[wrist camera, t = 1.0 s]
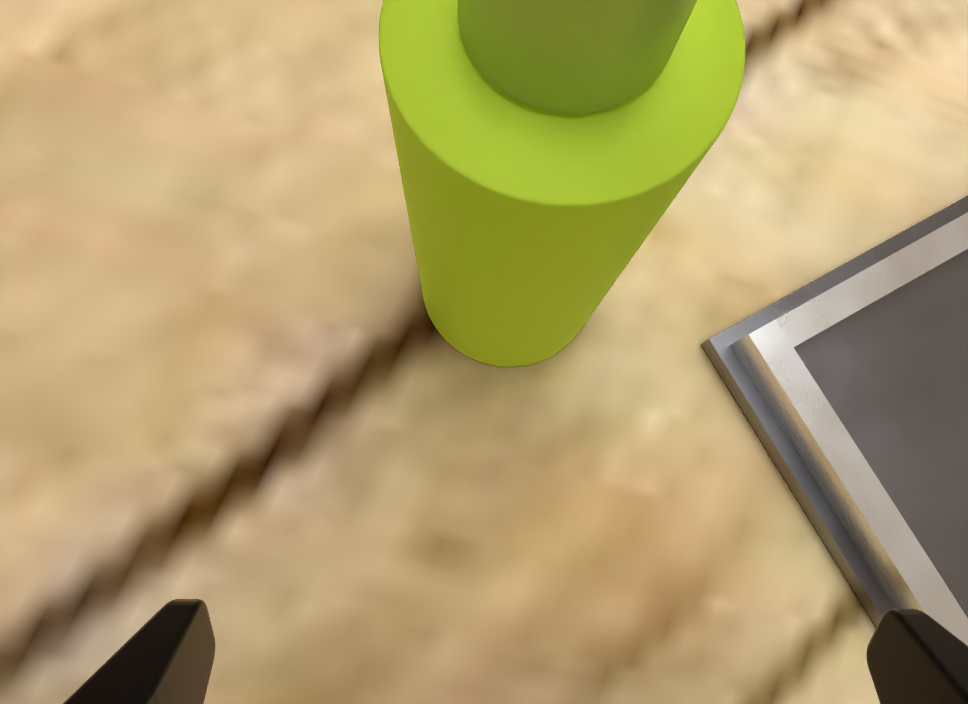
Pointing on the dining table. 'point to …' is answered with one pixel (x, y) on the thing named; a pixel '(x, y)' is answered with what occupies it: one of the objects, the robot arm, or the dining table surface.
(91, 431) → the dining table surface
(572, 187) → the soap dispenser
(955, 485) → the holder
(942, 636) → the robot arm
